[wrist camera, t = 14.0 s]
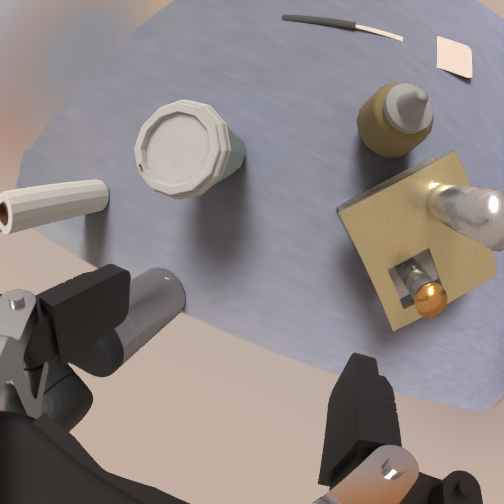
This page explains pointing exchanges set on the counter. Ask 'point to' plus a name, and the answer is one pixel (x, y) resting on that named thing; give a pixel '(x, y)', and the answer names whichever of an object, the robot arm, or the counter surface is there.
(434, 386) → the counter surface
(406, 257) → the tan and silver stand
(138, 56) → the counter surface
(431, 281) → the copper-capped metal rod
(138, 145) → the disposable coffee cup
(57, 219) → the paper towel roll
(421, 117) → the squeeze bottle
